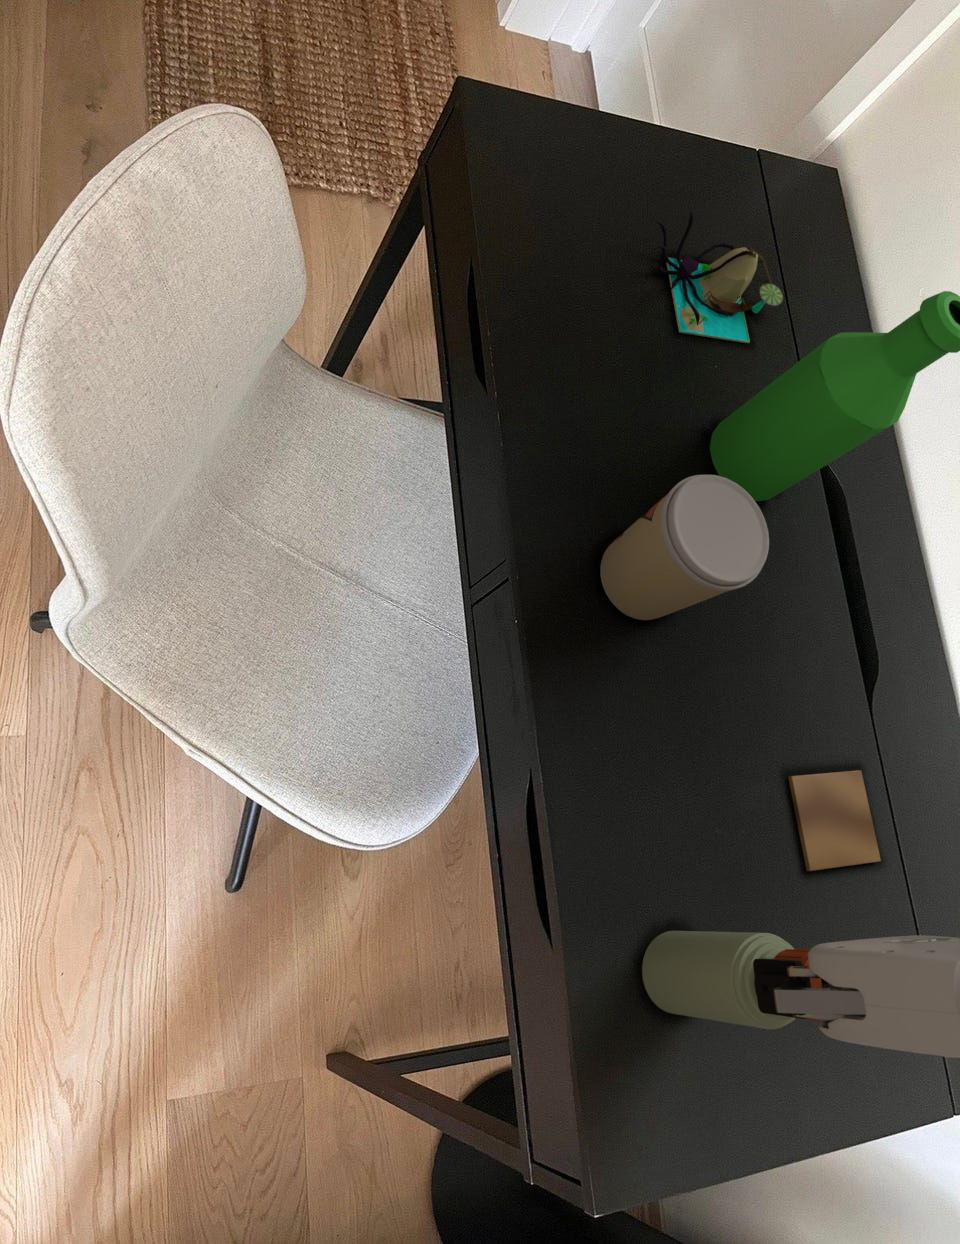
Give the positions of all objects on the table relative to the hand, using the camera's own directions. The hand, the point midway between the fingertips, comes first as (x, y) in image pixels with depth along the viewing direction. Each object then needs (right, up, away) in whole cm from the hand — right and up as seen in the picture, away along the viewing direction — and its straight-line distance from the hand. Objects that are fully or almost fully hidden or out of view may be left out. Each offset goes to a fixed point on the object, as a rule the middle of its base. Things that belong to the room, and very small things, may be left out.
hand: (791, 982), depth 59 cm
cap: (0, 0, 0) cm, 0 cm away
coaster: (+11, +6, +22) cm, 25 cm away
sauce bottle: (-5, -4, +12) cm, 13 cm away
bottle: (+5, +38, +30) cm, 49 cm away
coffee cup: (-6, +27, +21) cm, 35 cm away
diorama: (+2, +57, +34) cm, 66 cm away
